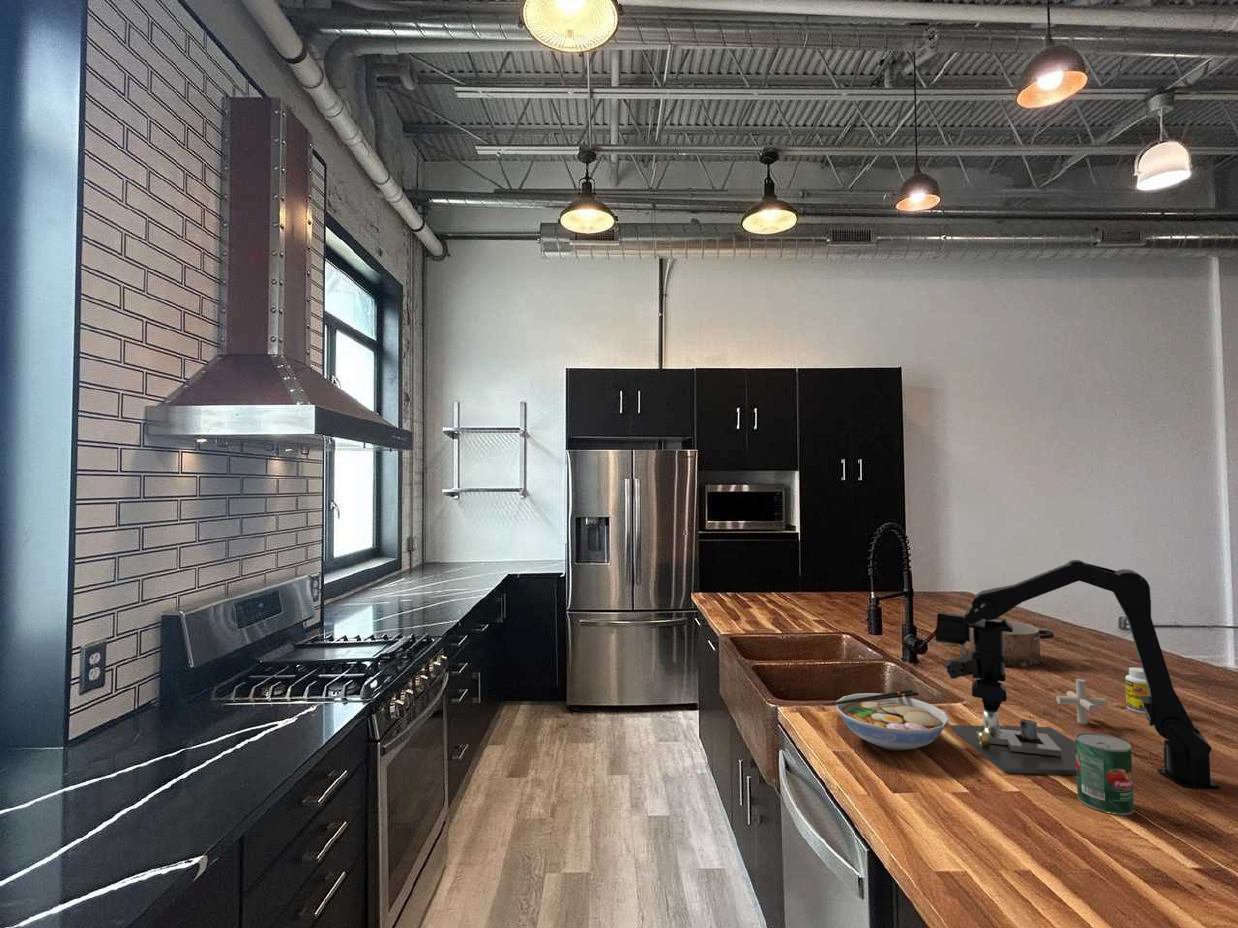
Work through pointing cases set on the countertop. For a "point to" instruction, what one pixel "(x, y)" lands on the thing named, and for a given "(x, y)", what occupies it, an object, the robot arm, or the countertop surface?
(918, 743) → the ramen bowl
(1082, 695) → the pipe connector
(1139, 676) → the supplement bottle
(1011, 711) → the countertop surface
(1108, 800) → the canned tomato
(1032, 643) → the cooking pot
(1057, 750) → the metal knob latch
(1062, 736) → the post base
